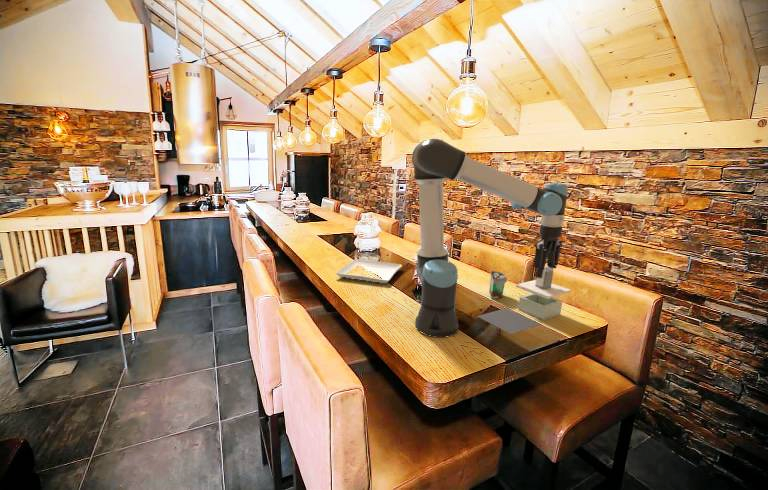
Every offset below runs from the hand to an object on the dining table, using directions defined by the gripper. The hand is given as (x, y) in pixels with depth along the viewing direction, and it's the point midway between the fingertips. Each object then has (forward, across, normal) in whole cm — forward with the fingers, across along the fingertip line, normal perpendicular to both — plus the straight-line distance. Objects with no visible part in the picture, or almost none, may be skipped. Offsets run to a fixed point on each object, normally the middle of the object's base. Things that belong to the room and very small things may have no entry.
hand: (543, 284), depth 138 cm
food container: (+12, -1, +20) cm, 24 cm away
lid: (+2, 0, 0) cm, 2 cm away
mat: (+12, -17, +1) cm, 21 cm away
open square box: (+12, 0, 0) cm, 12 cm away
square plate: (+12, -36, +72) cm, 82 cm away
